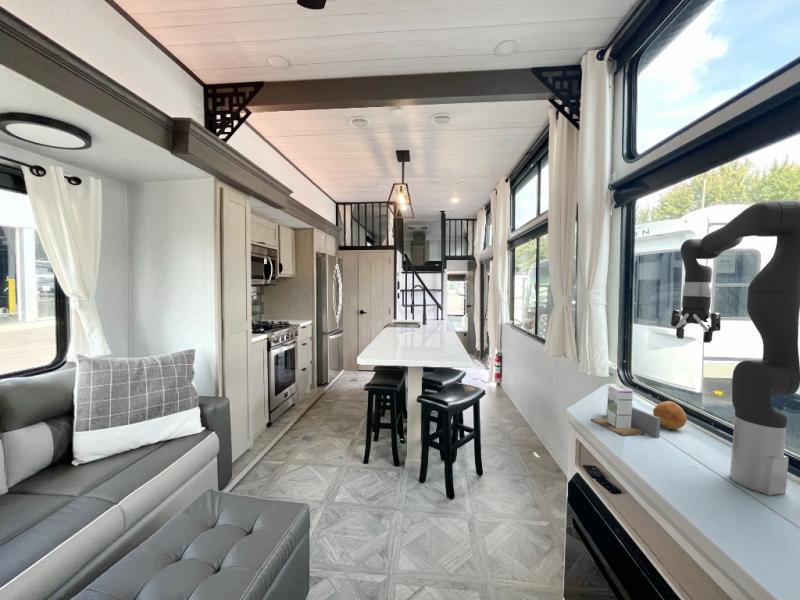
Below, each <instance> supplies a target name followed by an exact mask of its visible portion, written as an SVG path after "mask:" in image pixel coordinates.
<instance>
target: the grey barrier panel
mask: <svg viewBox="0 0 800 600" xmlns="http://www.w3.org/2000/svg"><path fill="white" fill-rule="evenodd" d="M660 419H661V418H659V417H657V416H654V414H653V413H652V414H651V413H649V412H646V411H645V410H644V411H643V410H641V409H638V408H636V407H634V406H632V414H631V426H632V427H634V428H637V429H639V430H641V431H643V432H645V433H646V434H645V435H648V436H650V437H653V438H654V439H659V438H660V431H661V430H660V428H661V425H660Z"/></svg>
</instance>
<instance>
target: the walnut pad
mask: <svg viewBox="0 0 800 600" xmlns="http://www.w3.org/2000/svg"><path fill="white" fill-rule="evenodd" d="M590 421H592V422H594V423H595V424H597V425H600V426H602V427H604V428H606V429H607V430H610V431H612V432H614V433H616V434H617V435H620V436H622V437H629V436H643V435H647V434H646V433H645V432H643V431H641V430H639V429H637V428H634V427H632V426H631V429H620V428H615V427H614V426H612V425H611V424H609V423H607V417H597V418H596V417H594V418H590Z"/></svg>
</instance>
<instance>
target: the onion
mask: <svg viewBox="0 0 800 600" xmlns="http://www.w3.org/2000/svg"><path fill="white" fill-rule="evenodd" d="M652 412H653V413H652V415H654V416H657V417H659V418H661V419H660V426H662V427H664V428H666V429H668V430H677V429H680V428H682V427H684V426H685V425H686V424H687V421H688V420H687V419H688V418H687V414H686V412H685V411H684V409H683V408H682V407H681V406H680V405H678V404H677V403H676V402H673V401H672V400H665V401H662V402H660V403H658V404H657V405H656V406H655V407H654V408H653V409H652Z"/></svg>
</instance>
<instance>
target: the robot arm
mask: <svg viewBox="0 0 800 600" xmlns="http://www.w3.org/2000/svg"><path fill="white" fill-rule="evenodd" d="M745 237H759V238H760V237H771V238H772V237H776V245H775V249H774V253H773V254H772V257H771V259H770V260H769V261H768V262H767V264H766V265H765V266H764V267H763V268H762V269H761V270H760V271H759V272H758V273H757V274H756V276H754V278H752V280H751V282H750V283H749V284H748V289H747V304H746V310H747V313H748V316H749V318H750V320H751V322H752V323H753V325H754V327H755V328H756V330H757V332H758V333H759V336H760V338H761V340H762V347H763V349H762V359H761V360H755V359H753V360H751V359H750V360H749V359H747V360H746V359H745V360H742V361H740V362H738V363H737V364H736V366H735V367H734V369H733V372H732V379H731V380H732V381H731V388H732V389H731V392H732V393H731V401H732V406H733V407H734V411H735V412H734V422H733V423H734V424H733V434H732V447H731V458H730V459H731V460H730V469H729V470H730V471H729V478H730V479H731V480H732V481H733V482H736V483H737V484H738V485H741V486H742V487H745V488H747V489H750V490H751V491H752V490H753V491H756V492H759V493H762V494H765V495H766V496H769V497H770V496H776V495H781V494H786V492H787V491H786V490H787V479H788V469H789V457H788V456H787V455H785V446H786V444H785V443H786V435H787V425H788V417H787V415H785V414H784V413H783V412H780V411H778V410H777V409H776V410H775V409H774V408H773V406H772V397H777V398H786V397H790V396H791V397H792V396H793V395H794V394H796V392H797V391H798V390H799V389H800V353H799V324H800V323H799V322H800V321H799V318H800V316H799V315H800V199H788V200H787V199H784V200H783V199H778V200H764V201H759V202H756V203H754V204H753V203H752V205H750V206H748V207H747V208H746V209H744V210H743V211H741V212H740V213H739V214H737V215H736V216H735V217H734V218H733V219H731V220H730V221H729V222H728V223H726V224H725V225H724V226H722V227H720V228H718V229H716V230H713V231H712V232H709V233H708V234H706V235H704V236H703V237H702V238H688V239H686V240H685V241H684V242H683V243H682V244H681V246H680V256H681V259H682V261H683V266H684V272H685V273H684V284H683V289H682V300H681V301H682V302H681V307H682V310H679V309H673V310H672V313H671V321H670V326H671V327H672V326H673V327H675V328H676V332H675V336H676V338H677V339H684V337H685V336H684V335H685V327H686V326H687V325H689V324H694V325H699V326H700V327H701V328H702V329H703V330H704V332H703V338H702V339H703V343H706V344H707V343H709V344H710V343H711V342H712V340H713V333H714V332H718V331H721V313H719V312H710V309H711V305H712V304H711V303H712V277H713V275H712V274H713V271H712V267H711V266H709V265H704V264H700V263H699V261H698V260H712V259H717V257H719V256H720V255H721V254H722V253H723V252H725V251H728V250H731V249H733V248H736V246H737V247H738V245H740V243H741V242H742V241H743V239H744V238H745ZM681 316H682V317H681ZM709 319H710V321H709Z"/></svg>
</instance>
